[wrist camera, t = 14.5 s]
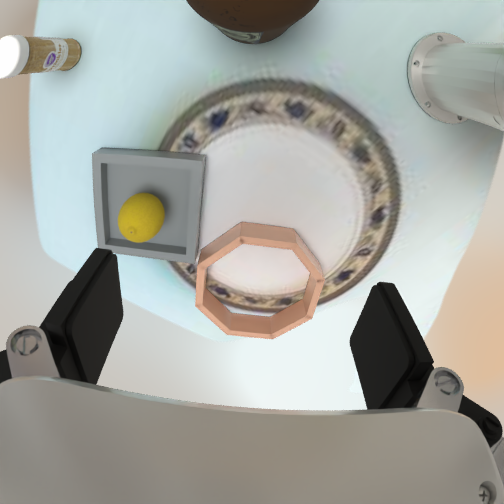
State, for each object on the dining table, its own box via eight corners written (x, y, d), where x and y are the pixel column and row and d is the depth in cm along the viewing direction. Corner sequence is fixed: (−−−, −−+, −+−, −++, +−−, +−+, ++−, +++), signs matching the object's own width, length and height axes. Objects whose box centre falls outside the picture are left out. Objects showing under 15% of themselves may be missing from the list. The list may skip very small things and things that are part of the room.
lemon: (155, 230, 43) (138, 262, 36) (123, 205, 41) (100, 233, 34) (179, 202, 41) (164, 230, 34) (146, 175, 39) (124, 199, 32)
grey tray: (205, 154, 39) (202, 161, 36) (197, 252, 46) (194, 263, 43) (101, 147, 38) (92, 153, 35) (106, 240, 45) (98, 251, 42)
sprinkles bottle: (77, 72, 32) (13, 80, 21) (51, 69, 31) (-16, 78, 20) (86, 39, 30) (23, 34, 18) (58, 37, 29) (-7, 35, 18)
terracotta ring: (328, 233, 44) (334, 248, 41) (301, 324, 53) (303, 341, 49) (204, 217, 43) (199, 231, 40) (197, 313, 52) (194, 330, 48)
